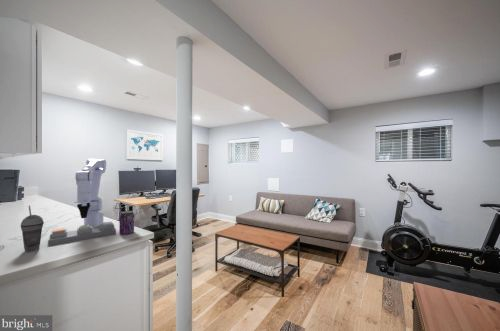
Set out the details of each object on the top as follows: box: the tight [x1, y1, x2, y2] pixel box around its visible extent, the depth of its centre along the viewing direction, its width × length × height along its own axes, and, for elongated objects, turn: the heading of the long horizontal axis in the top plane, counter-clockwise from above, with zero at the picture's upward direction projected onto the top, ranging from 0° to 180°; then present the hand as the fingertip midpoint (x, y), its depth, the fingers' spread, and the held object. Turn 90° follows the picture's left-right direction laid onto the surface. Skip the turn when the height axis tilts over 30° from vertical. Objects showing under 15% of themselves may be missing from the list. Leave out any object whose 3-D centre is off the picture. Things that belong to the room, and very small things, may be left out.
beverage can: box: [118, 210, 135, 235], centre depth 115 cm, size 7×7×12 cm
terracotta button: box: [53, 227, 65, 234], centre depth 103 cm, size 4×4×2 cm
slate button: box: [102, 221, 113, 226], centre depth 116 cm, size 4×4×2 cm
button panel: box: [47, 222, 117, 247], centre depth 109 cm, size 27×11×4 cm, turn 130°
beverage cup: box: [20, 205, 45, 253], centre depth 91 cm, size 7×7×20 cm
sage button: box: [78, 224, 90, 230], centre depth 109 cm, size 4×4×2 cm
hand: (83, 217), depth 113 cm, fingers open, 4 cm apart
